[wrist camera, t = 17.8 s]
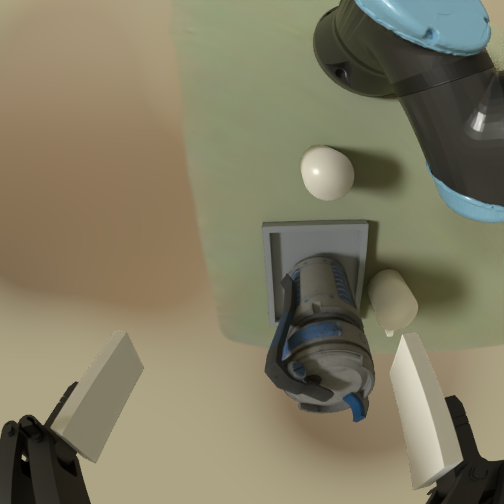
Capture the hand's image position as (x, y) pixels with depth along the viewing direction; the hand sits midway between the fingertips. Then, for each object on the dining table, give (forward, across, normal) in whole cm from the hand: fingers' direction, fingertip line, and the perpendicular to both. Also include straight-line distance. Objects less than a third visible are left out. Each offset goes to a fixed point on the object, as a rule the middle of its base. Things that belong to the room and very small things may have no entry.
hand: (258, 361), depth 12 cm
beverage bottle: (+31, +4, -14) cm, 34 cm away
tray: (+32, +5, -14) cm, 35 cm away
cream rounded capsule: (+32, +6, +4) cm, 32 cm away
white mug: (+32, +18, -18) cm, 41 cm away
